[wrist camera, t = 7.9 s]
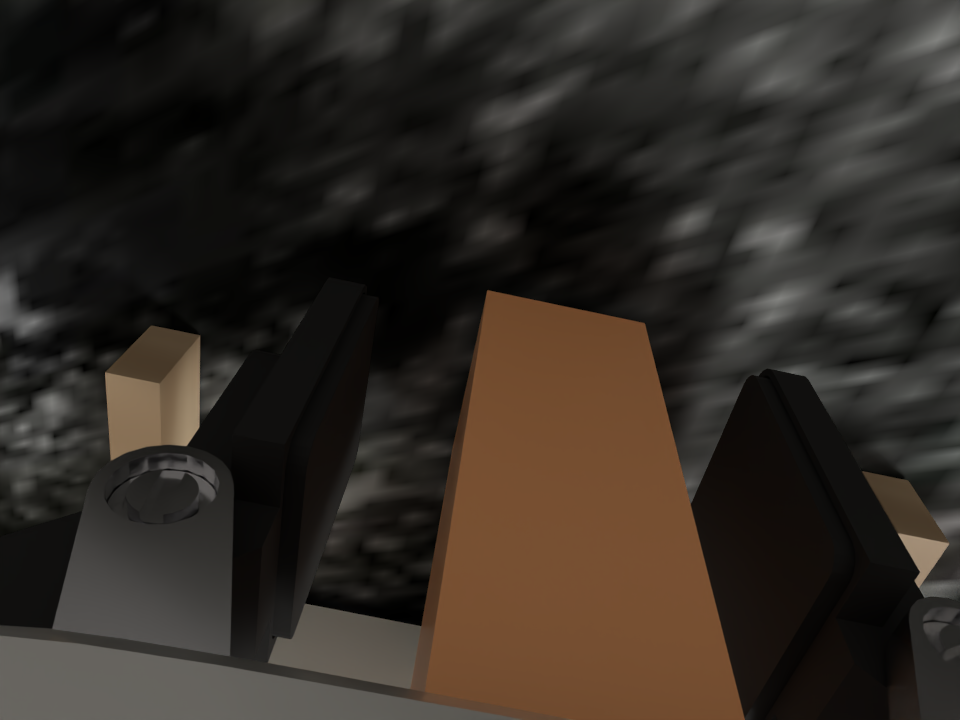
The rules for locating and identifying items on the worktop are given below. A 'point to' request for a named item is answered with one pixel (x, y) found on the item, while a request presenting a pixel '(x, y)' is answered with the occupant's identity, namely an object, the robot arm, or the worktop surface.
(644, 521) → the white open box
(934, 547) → the track
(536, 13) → the worktop surface
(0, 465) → the worktop surface
